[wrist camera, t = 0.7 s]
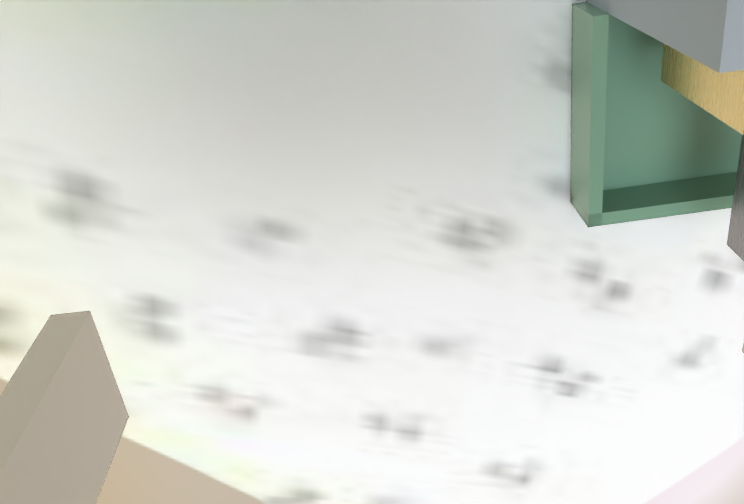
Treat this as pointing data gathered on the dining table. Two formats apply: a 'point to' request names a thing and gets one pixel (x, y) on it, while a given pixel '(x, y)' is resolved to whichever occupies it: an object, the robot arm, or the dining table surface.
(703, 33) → the bearing block
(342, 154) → the dining table surface
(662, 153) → the tray
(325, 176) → the dining table surface
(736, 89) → the spacer
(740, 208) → the l-shaped bracket
